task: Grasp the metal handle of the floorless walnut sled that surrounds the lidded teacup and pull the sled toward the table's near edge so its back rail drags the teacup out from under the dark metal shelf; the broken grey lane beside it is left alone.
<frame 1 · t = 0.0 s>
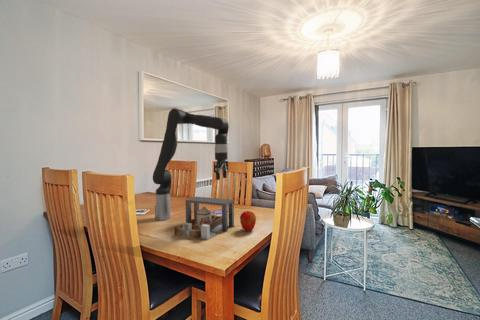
hand: (221, 178, 140), 29 cm above the table, fingers open, 8 cm apart
shelf: (209, 226, 143), on the table
sled walnut: (201, 222, 138), point 4 cm above the table, slide at 0.0 cm
apple: (248, 230, 134), on the table
strip grey near: (207, 230, 125), point 4 cm above the table, slide at 0.0 cm
strip grey far: (218, 229, 136), on the table
teacup with lid: (206, 225, 144), resting in sled walnut
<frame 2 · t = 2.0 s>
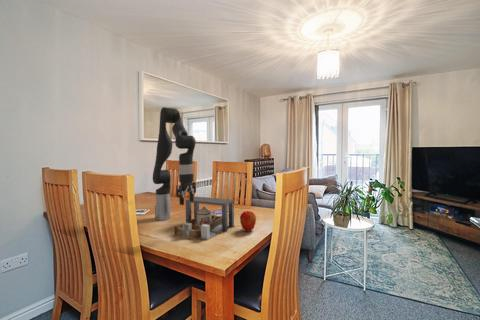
hand: (186, 203, 125), 18 cm above the table, fingers open, 8 cm apart
nothing on the table moved.
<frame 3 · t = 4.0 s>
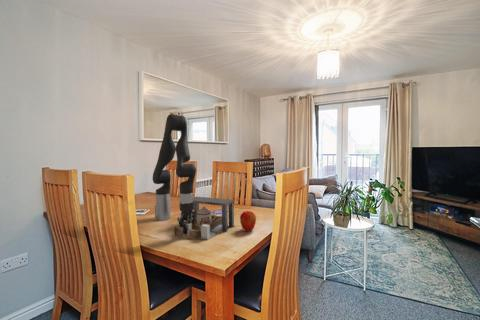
hand: (187, 232, 126), 2 cm above the table, fingers closed on sled walnut, 3 cm apart
sled walnut: (201, 222, 138), point 4 cm above the table, slide at 0.0 cm, touching gripper
everything else where it was.
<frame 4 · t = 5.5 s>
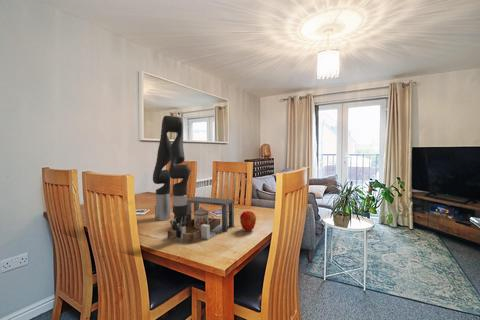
hand: (180, 236, 121), 2 cm above the table, fingers closed on sled walnut, 3 cm apart
sled walnut: (195, 225, 133), point 4 cm above the table, slide at 5.5 cm, touching gripper, teacup with lid
teacup with lid: (203, 226, 142), resting in sled walnut
everything else where it was.
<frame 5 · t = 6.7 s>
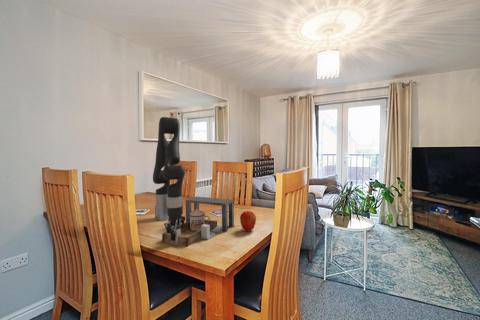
hand: (175, 239, 117), 2 cm above the table, fingers closed on sled walnut, 3 cm apart
sled walnut: (191, 227, 129), point 4 cm above the table, slide at 9.7 cm, touching gripper, teacup with lid
teacup with lid: (199, 228, 139), resting in sled walnut
everything else where it was.
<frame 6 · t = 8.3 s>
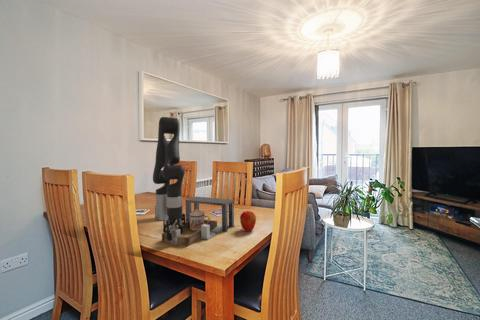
hand: (175, 237, 117), 3 cm above the table, fingers open, 8 cm apart
sled walnut: (191, 228, 129), point 4 cm above the table, slide at 9.9 cm
teacup with lid: (199, 228, 139), resting in sled walnut
everything else where it was.
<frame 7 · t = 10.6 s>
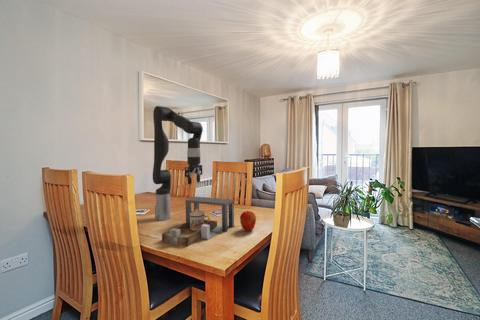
hand: (194, 183, 138), 27 cm above the table, fingers open, 8 cm apart
nothing on the table moved.
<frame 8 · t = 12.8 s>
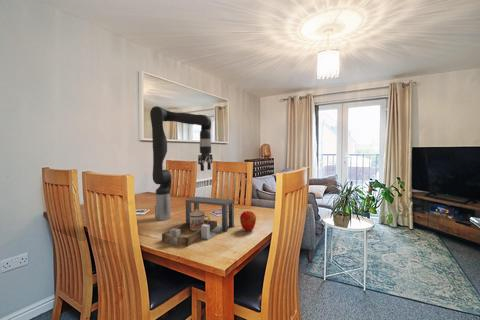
hand: (205, 170, 156), 33 cm above the table, fingers open, 8 cm apart
nothing on the table moved.
at the end: teacup with lid inside the target area (6.2 cm from its centre), resting in sled walnut; sled walnut slide at 9.9 cm; teacup with lid tilted 0° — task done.
